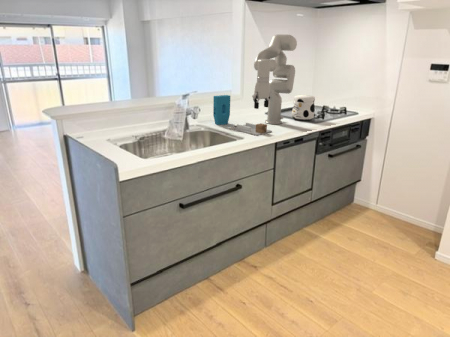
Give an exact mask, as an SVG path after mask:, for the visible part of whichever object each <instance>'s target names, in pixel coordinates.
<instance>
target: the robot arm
mask: <svg viewBox="0 0 450 337" xmlns="http://www.w3.org/2000/svg"><path fill="white" fill-rule="evenodd" d="M297 42H298V41H297V38H296V37H294V35H292V34H275V35H273V36H272V37H271V40H270V42H269V44H268V45H267V46H268V47H267V48H264V49H263V50H262V51H259V53H258V54H257V55H256V57H255V60H254V63H253V68H254V70H255V71H257V75H256V76H257V78H256V83H255V86H254V92H253V93H254V94H253V95H252V96H251V97H252V100H253V102H254V103H253V104H254V105H253V108H254V109H256V110H259V107H260V106H259V105H260V102H259V101H261V100H264V101H263V107H264V108H267V119H265V120H264V121H265V123H264V124H267V125H268V124H269V125H281V124H282V123H283V121H282V120H283V119H284V116H282V114H281V112H282V102H283V101H282V99H283V98H282V97H281V95H280V94H291V93H292V91H293V88H294V83H295V76H296V67H295V65H293V64H287V60H288V57H287V55H286V54H285V52H286V51H287V52H291V51H292V52H294V51H295V50H296V49H297V45H298V43H297ZM271 72H272V76H273V77H274V78H275V79H270V73H271Z"/></svg>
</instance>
